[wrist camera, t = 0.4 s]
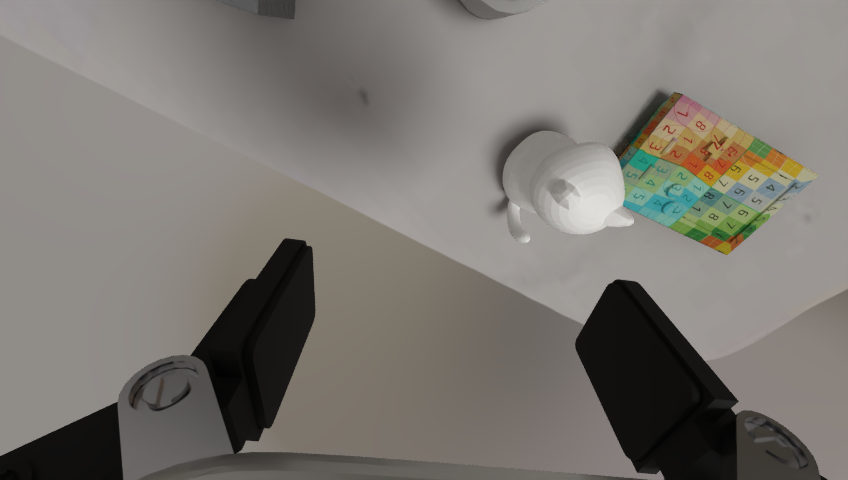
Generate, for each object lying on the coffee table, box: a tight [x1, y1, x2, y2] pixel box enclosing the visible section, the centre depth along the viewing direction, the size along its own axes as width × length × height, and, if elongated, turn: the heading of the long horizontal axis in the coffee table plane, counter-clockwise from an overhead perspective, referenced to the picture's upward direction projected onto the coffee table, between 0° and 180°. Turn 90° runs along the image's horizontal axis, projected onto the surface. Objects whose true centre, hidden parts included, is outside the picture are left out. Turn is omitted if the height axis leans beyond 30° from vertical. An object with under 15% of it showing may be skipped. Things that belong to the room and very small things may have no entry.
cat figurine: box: [503, 131, 634, 243], centre depth 33 cm, size 9×12×15 cm
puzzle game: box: [618, 92, 818, 255], centre depth 38 cm, size 12×5×20 cm
